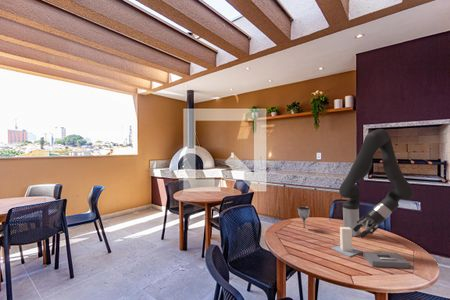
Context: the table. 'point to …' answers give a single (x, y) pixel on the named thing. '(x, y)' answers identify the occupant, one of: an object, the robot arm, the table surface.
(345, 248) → the tall cream pillar
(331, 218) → the table surface
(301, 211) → the wine glass
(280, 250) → the table surface
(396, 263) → the gray slotted base
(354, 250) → the mat
